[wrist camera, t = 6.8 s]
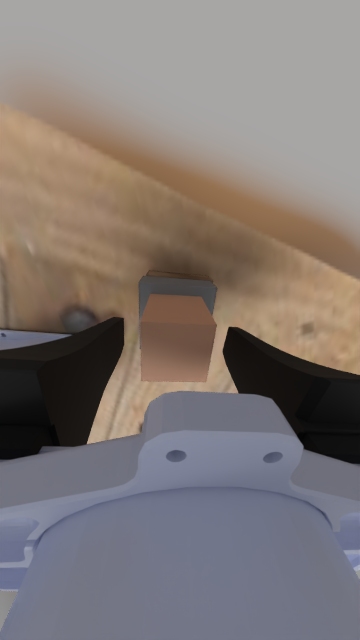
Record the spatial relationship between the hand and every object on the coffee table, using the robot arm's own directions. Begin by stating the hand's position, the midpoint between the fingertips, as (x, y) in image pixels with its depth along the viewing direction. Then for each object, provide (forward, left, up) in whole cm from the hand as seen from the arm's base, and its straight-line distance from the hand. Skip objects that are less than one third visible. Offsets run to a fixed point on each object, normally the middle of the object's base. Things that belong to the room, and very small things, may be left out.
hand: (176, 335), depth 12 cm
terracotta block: (0, 0, -3) cm, 3 cm away
